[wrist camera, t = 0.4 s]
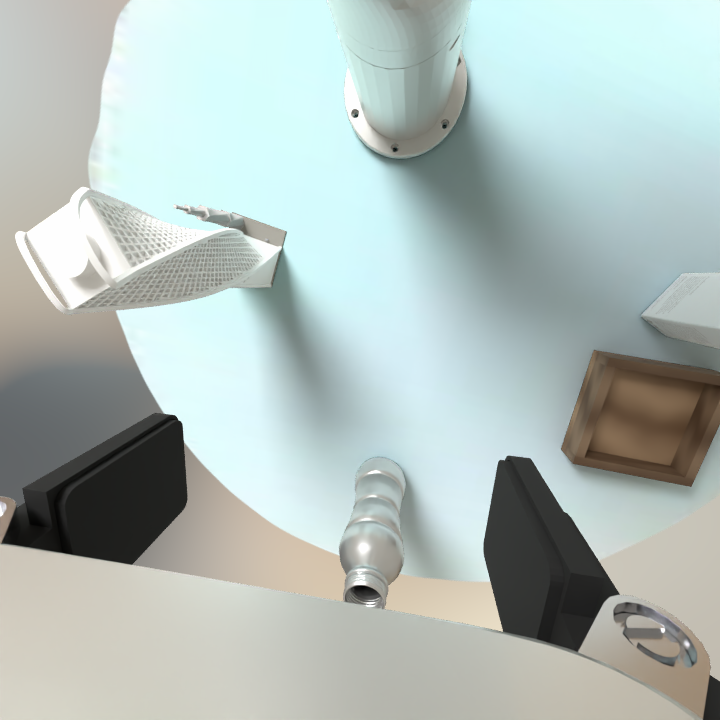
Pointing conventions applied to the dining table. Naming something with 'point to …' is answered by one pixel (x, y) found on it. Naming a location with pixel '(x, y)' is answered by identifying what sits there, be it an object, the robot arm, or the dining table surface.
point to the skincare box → (689, 309)
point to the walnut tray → (644, 418)
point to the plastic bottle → (373, 534)
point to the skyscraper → (145, 255)
